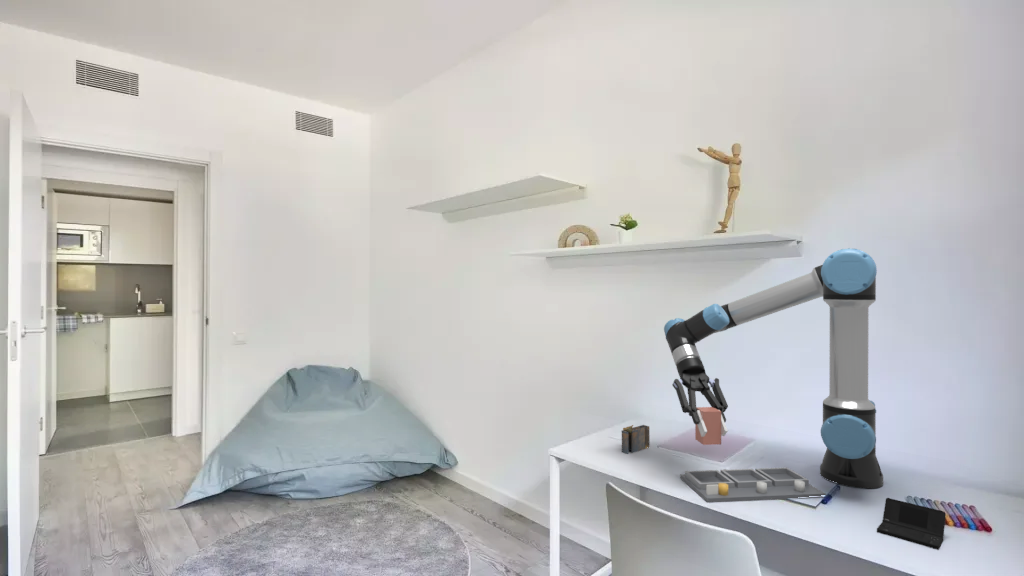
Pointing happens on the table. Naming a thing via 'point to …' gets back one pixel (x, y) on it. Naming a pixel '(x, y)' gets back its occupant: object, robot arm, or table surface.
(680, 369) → the robot arm
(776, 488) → the grey compartment tray
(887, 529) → the handheld gaming console
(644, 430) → the dark grey upright slab
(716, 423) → the salmon pink square prism
